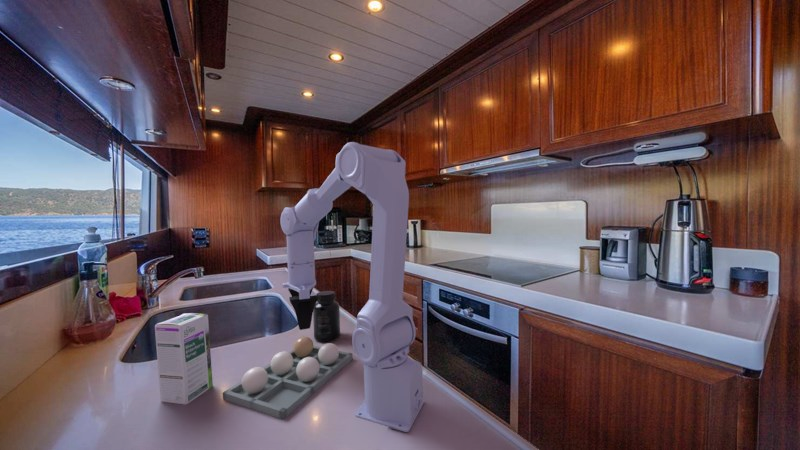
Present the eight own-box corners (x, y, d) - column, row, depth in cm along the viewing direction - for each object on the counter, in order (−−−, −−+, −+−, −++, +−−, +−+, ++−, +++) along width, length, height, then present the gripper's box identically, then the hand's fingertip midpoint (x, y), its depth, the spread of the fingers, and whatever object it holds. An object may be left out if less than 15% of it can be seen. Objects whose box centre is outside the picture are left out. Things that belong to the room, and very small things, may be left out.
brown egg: (318, 354, 68) (316, 334, 70) (304, 355, 64) (303, 334, 66) (303, 358, 69) (302, 339, 71) (289, 360, 66) (288, 339, 67)
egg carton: (352, 360, 66) (352, 339, 66) (283, 421, 47) (282, 392, 47) (303, 350, 72) (302, 330, 71) (223, 401, 53) (221, 375, 52)
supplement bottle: (345, 335, 80) (344, 291, 79) (327, 345, 74) (325, 298, 74) (327, 330, 84) (326, 288, 83) (308, 339, 78) (306, 294, 77)
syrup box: (186, 407, 51) (181, 324, 51) (158, 403, 53) (153, 322, 52) (213, 387, 57) (209, 313, 56) (187, 384, 58) (183, 311, 57)
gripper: (281, 259, 71) (283, 314, 72) (282, 269, 58) (284, 338, 58) (312, 256, 74) (314, 310, 74) (319, 266, 60) (321, 332, 61)
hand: (303, 322), depth 66 cm, fingers open, 7 cm apart
